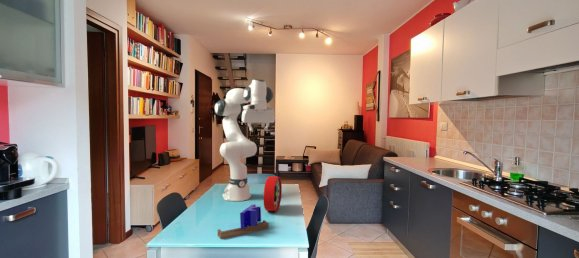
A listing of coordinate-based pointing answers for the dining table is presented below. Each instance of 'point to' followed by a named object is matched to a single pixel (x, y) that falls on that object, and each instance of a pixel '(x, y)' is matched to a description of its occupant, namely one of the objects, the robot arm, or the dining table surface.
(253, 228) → the handle
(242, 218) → the mounting bracket
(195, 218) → the dining table surface
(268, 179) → the red hockey puck
